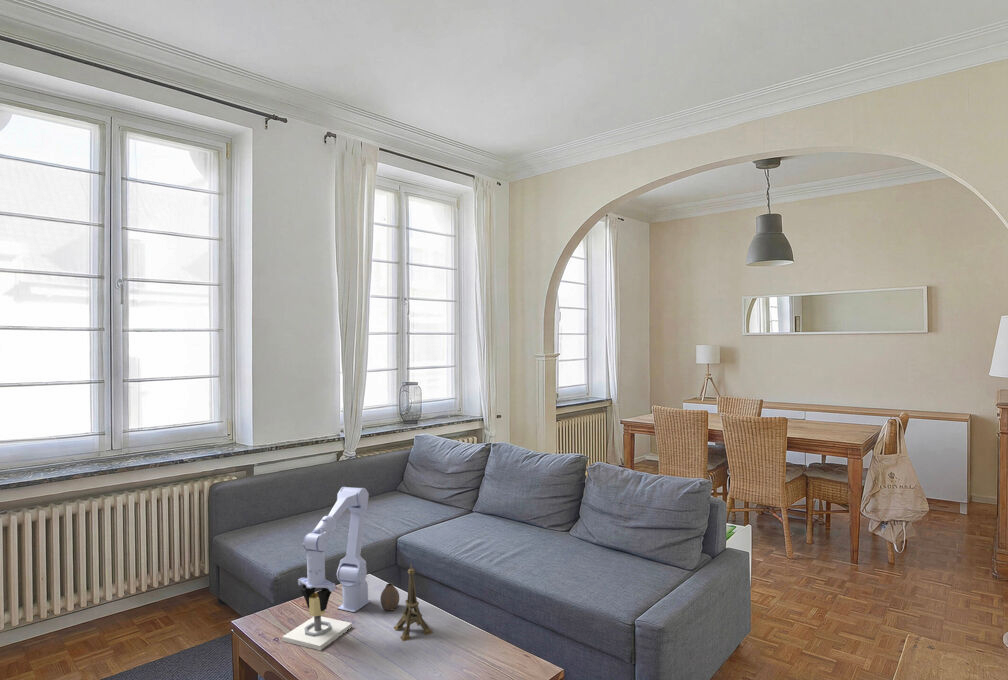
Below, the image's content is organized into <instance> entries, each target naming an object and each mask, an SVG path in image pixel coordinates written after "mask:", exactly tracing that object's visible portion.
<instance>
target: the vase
mask: <svg viewBox="0 0 1008 680" xmlns="http://www.w3.org/2000/svg"><path fill="white" fill-rule="evenodd" d="M380 594H381V595H380V605H381V607H382V608H383V609H384V610H385V611H393V609H394V610H395V609H396V608H397V607H398V606H399V604H400V593H399V590H398V589H397V588H396V587H395V586H394V584H393V583H391V582H389V583H387V584H386V585H385V587H384V588H383V590H382V592H381V593H380Z"/></svg>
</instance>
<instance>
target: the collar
mask: <svg viewBox="0 0 1008 680" xmlns="http://www.w3.org/2000/svg"><path fill="white" fill-rule="evenodd" d="M317 592H318V591H317ZM317 592H316V591H315V592H314V593H312V594H310V595H309V608H308V610H309V611H308V612H309V616H311V617H314V616H320V615H321V616H322V615H324V614H325V613H326V609H325V610H324V611H321V609H320V600H319V597H318V594H317Z"/></svg>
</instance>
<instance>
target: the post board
mask: <svg viewBox="0 0 1008 680" xmlns="http://www.w3.org/2000/svg"><path fill="white" fill-rule="evenodd" d="M351 627H352V628H353V623H352V622H348V621H344V620H339V619H335V618H330V617H325V616H322V615H320V616H311V618H310V619H309V618H308V620H306V621H304V622H303V623H302V624H300V625H298V626H297V627H295V628H293V629H292V630H291V631H289V632H287V633H285V634H284V635H283V636H281V637H282V642H285V643H289V644H293V645H298V646H301V647H305V648H307V649H308V648H309V649H312V650H317V651H321V650H323V649H324V648H326V647H327V646H329V645H330V644H331V643H333V642H334V641H335V640H337V639H339V636H340V637H341V636H343V633H344V634H345V633H346V632H347V630H348V629H349V630H351V629H352V628H351ZM350 628H351V629H350ZM349 630H348V631H349ZM332 641H333V642H332Z"/></svg>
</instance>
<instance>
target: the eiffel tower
mask: <svg viewBox="0 0 1008 680" xmlns="http://www.w3.org/2000/svg"><path fill="white" fill-rule="evenodd" d="M412 567H413V565H412V564H410V568H409V569H408V568H407V573H408V587H407V598H406V600H405V604H406V605H405V609H404V612H402V616H401V617H400V618H399V620H398V621H397V622H396V624H395V626H393V629H394V630H395V631H396V632H397V631H400V630H403V631H402V634H401V636H400V640H401V641H402V642H406V641H409V640H410V641H411V639H412V638H411V636H410V635H411V634H410V631H411V625H413V624H416V625H417V626H421V628H422V633H423V634H424V635H425V636H428V635H431V634H434V632H433V631H432V629H431V628H430V627H429V626H428V624H427V622H426V621H425V620H424V619H423V614H422V613H421V612H420V608H419V605H420V602H419V601H418V599H417V598H418V597H417V591H416V585H415V584H416V583H415V582H416V581H415V577H414V574H416V572H415V569H414V568H412ZM405 624H406V625H405ZM404 626H405V628H404Z"/></svg>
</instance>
